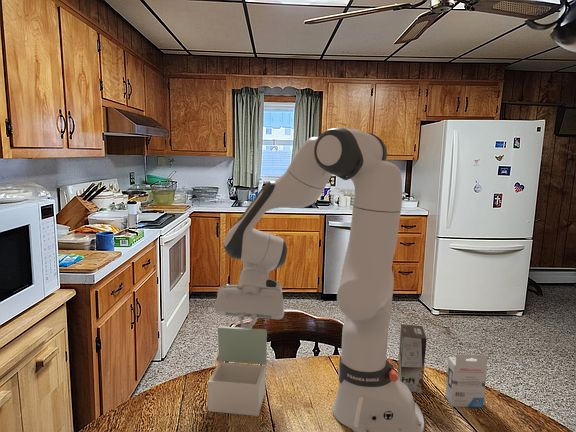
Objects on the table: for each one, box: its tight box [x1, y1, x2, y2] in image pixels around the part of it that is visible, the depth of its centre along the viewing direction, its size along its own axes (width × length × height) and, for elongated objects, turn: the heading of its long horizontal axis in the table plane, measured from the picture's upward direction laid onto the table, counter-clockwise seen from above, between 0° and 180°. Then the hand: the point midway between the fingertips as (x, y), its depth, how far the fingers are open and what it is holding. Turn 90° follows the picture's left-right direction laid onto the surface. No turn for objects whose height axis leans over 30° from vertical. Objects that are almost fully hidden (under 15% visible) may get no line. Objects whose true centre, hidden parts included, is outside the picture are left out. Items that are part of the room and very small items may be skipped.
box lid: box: [217, 325, 268, 366], centre depth 109 cm, size 13×10×1 cm
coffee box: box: [397, 324, 428, 394], centre depth 115 cm, size 9×6×16 cm
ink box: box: [444, 354, 488, 408], centre depth 107 cm, size 8×5×15 cm, turn 89°
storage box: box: [207, 361, 267, 417], centre depth 105 cm, size 13×10×8 cm
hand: (245, 331), depth 112 cm, fingers closed
